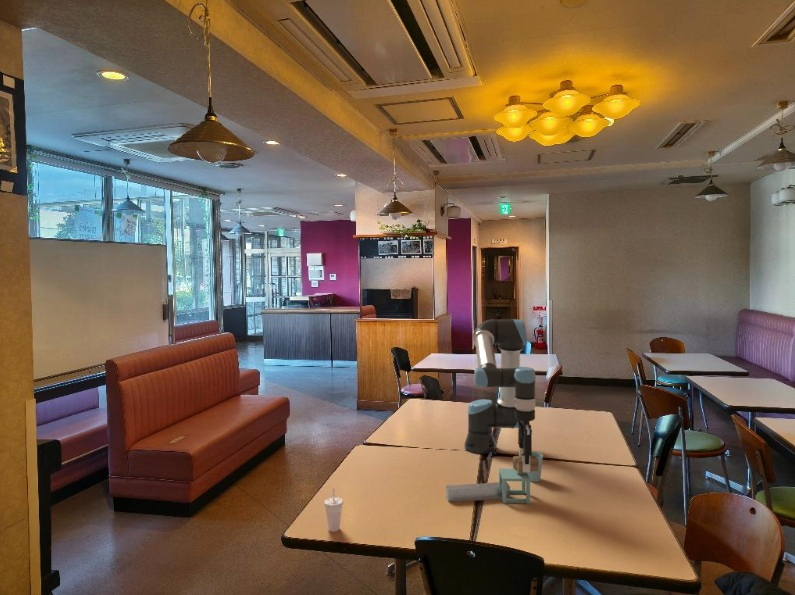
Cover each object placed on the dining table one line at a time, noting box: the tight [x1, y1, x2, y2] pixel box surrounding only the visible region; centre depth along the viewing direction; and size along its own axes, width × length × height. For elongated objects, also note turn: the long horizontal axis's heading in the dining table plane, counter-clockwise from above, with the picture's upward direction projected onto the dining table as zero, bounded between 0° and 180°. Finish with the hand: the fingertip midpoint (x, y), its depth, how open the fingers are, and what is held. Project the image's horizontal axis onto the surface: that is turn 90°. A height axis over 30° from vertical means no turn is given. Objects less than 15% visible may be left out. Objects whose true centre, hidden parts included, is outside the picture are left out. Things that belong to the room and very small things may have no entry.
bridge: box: [498, 467, 531, 505], centre depth 199 cm, size 10×10×10 cm
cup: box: [527, 451, 544, 483], centre depth 217 cm, size 8×8×10 cm
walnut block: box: [512, 455, 539, 473], centre depth 199 cm, size 5×8×4 cm, turn 102°
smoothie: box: [323, 487, 344, 533], centre depth 177 cm, size 6×6×14 cm
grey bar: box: [445, 481, 511, 503], centre depth 200 cm, size 4×24×5 cm, turn 97°
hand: (524, 468), depth 199 cm, fingers closed on walnut block, 6 cm apart
